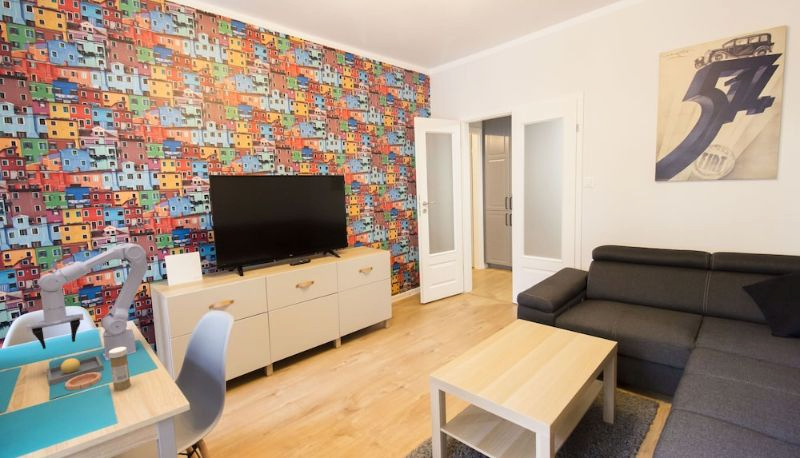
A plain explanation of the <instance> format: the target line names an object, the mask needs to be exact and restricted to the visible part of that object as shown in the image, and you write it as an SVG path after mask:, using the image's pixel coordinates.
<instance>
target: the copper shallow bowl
mask: <svg viewBox="0 0 800 458" xmlns="http://www.w3.org/2000/svg"><path fill="white" fill-rule="evenodd" d="M102 378H103V377H102V373H101V372H93V373H86V374H82V375H79V376H76V377H74V378H72V379H70V380H68V381H65V382H64V384H65V389H66V390H68V391H77V390H83V389H85V388H88V387H91V386H94V385H95V384H97V383H99V382H100V381H101V380H102Z"/></svg>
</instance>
